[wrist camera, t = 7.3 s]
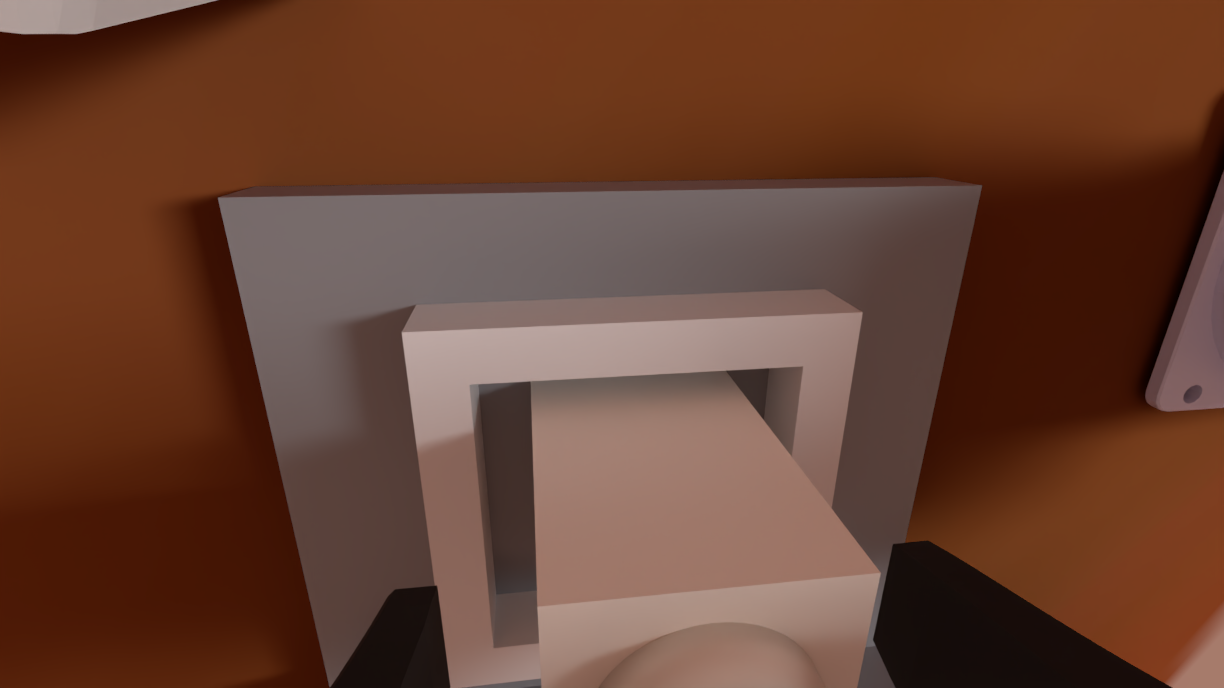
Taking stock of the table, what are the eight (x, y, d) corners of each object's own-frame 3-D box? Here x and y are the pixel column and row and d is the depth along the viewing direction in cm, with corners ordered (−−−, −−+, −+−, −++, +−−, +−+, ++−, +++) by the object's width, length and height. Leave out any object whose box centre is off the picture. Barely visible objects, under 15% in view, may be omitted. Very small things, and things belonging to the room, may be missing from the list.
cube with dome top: (724, 369, 13) (921, 626, 6) (712, 527, 14) (863, 863, 8) (530, 378, 12) (539, 669, 6) (538, 541, 14) (551, 914, 7)
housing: (934, 176, 13) (1120, 209, 9) (812, 825, 21) (883, 999, 17) (253, 186, 12) (104, 232, 7) (398, 889, 20) (365, 1099, 15)
